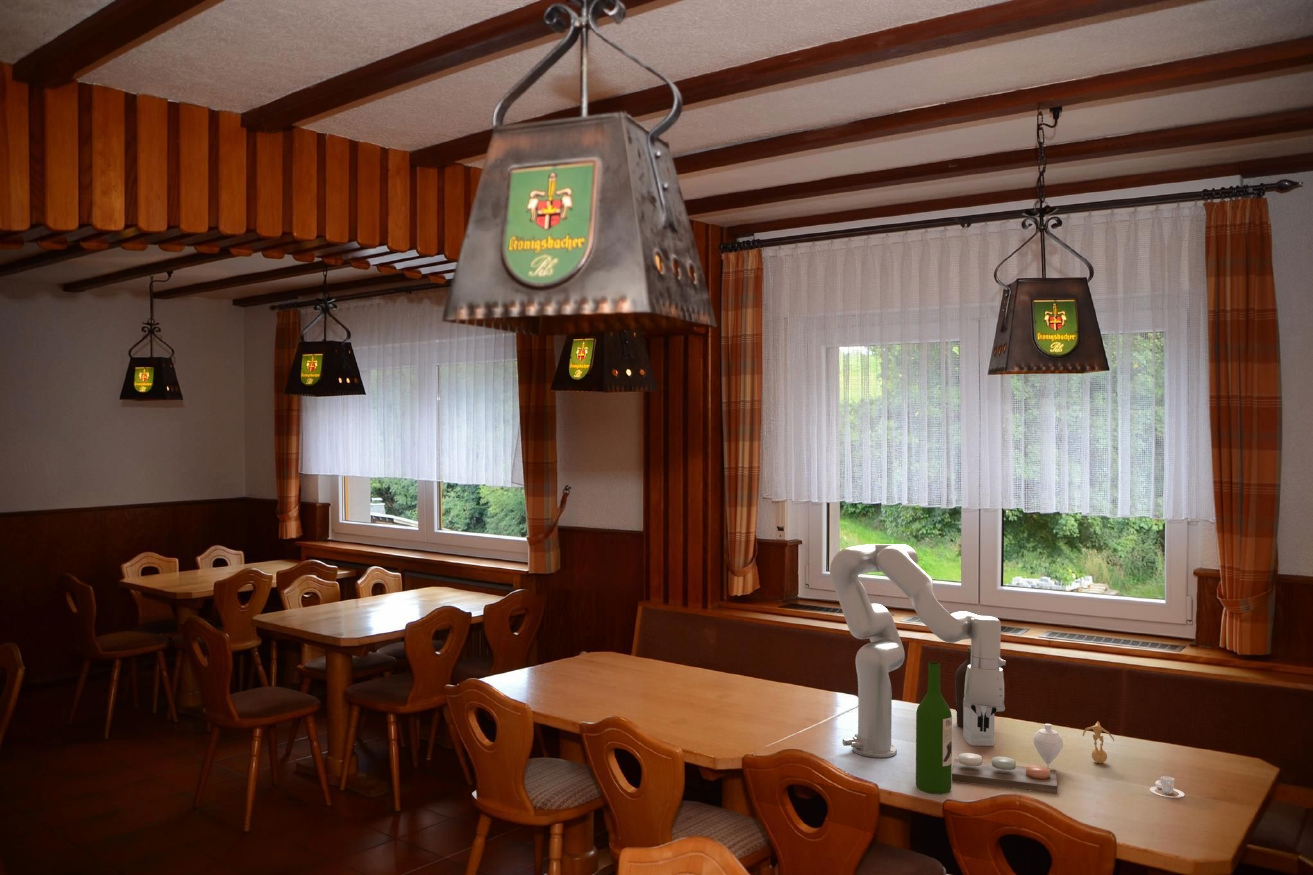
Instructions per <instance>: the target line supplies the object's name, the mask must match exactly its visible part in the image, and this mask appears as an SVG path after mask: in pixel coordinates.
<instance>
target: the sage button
mask: <svg viewBox="0 0 1313 875" xmlns="http://www.w3.org/2000/svg"><path fill="white" fill-rule="evenodd" d="M1016 762H1017V761H1016V760H1015V759H1013V758H1010V757H1007V756H994V757H991V763H992V766H993V767H995V768H997V769H1002V770H1013V769H1015V768H1016V766H1017V765H1016V764H1017V763H1016Z"/></svg>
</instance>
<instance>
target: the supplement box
mask: <svg viewBox="0 0 1313 875" xmlns="http://www.w3.org/2000/svg"><path fill="white" fill-rule="evenodd" d="M964 699H965V698H964ZM963 702H964V701H963ZM986 709H987V706H982V705H981V712H982V715H983V727H984V715H985V712H986ZM977 723H978V716H977V714H976V713H975V712H974V711H973V710H972V709H970V708H967V707H964V706H963V728H962V729H963V732H962V736H963V737H962V738H963V740H964V741H965V742H967V743H968V744H969V745H970V746H979V747H980V746H983V747H986V746H988V747H990V746H995V713H994V714H993V715H991V716H990V717H989V729H988V728H986V732H984V731H982V732H980V727H977Z"/></svg>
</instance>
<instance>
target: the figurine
mask: <svg viewBox="0 0 1313 875" xmlns="http://www.w3.org/2000/svg"><path fill="white" fill-rule="evenodd" d="M1090 730H1093V732H1094V733H1093V734H1092V739H1093V740H1094V742H1093V744H1094V749H1093V750H1092V752H1091V758H1092V760H1093V761H1094V762H1095V763H1097V764H1104V763H1105V762H1106V761H1107V760H1108V756H1107V755H1108V754H1107V752H1106V751H1105V749H1103V745H1104V736H1103V735H1101V734H1102V732H1104V733H1106V734H1108V735H1109V737H1110V738H1111V740H1113V742H1115V738H1114V737H1113V736H1112V735H1111V732H1110V731H1108V730H1106V729H1105V728H1103V727H1102V726H1101V724H1100V721H1096V723H1095V725H1092V726H1089V727H1085V728H1084V731H1083V733H1082V736H1085V733H1086V732H1087V731H1090ZM1098 740H1099V741H1100V744H1099V745H1100V746H1099V748H1098V747H1097V745H1098V744H1097V741H1098Z"/></svg>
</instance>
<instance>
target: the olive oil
mask: <svg viewBox="0 0 1313 875" xmlns="http://www.w3.org/2000/svg"><path fill="white" fill-rule="evenodd" d="M966 656H967V657H966V660H964V662H962V663H961V664H960V665H959V666H958V668H957V669H956V672H955V675H954V682H955V683H954V684H955V685H954V686H955V703H956V704H955V712H956V726H958V727H960V728H961V729H963V701H964V698H965V697H964V690H965V677H966V671H967V667H968V665H970V664H971V646H967V652H966Z"/></svg>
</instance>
